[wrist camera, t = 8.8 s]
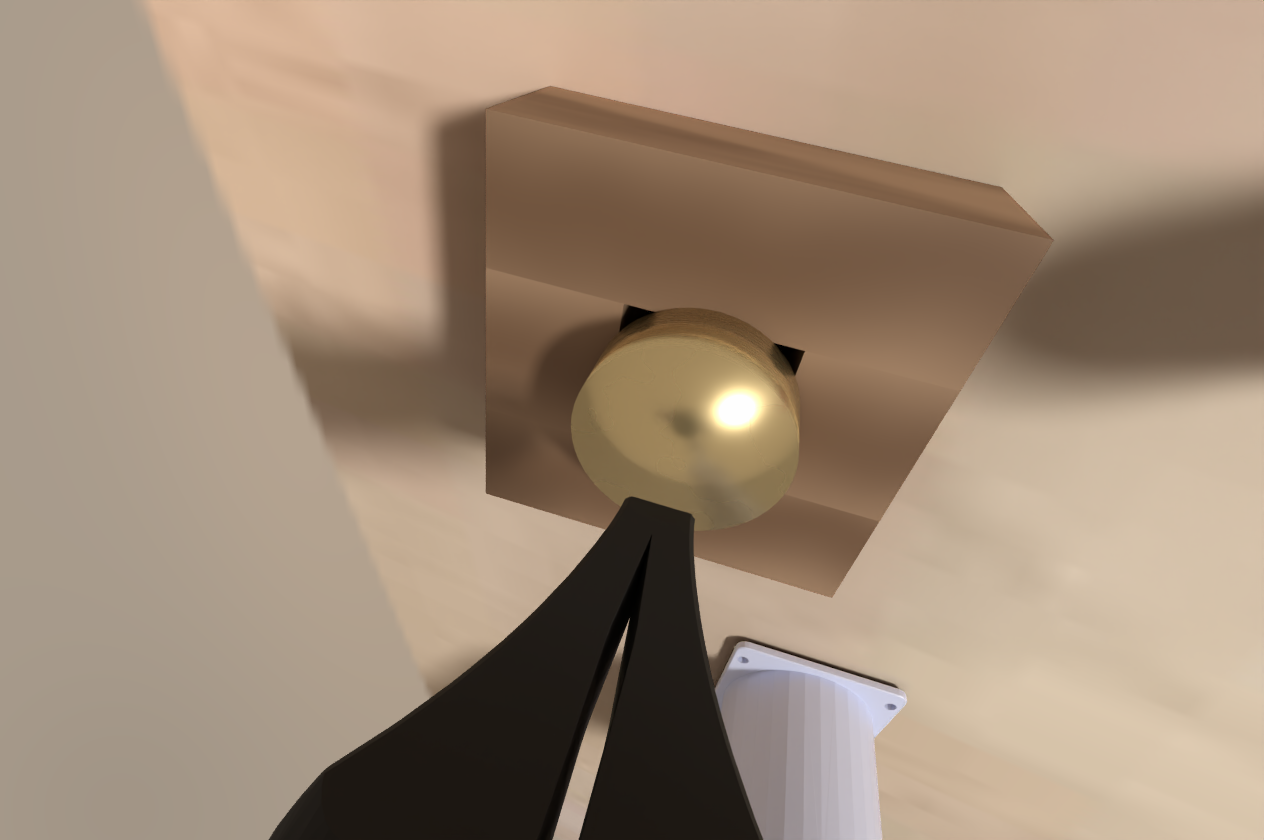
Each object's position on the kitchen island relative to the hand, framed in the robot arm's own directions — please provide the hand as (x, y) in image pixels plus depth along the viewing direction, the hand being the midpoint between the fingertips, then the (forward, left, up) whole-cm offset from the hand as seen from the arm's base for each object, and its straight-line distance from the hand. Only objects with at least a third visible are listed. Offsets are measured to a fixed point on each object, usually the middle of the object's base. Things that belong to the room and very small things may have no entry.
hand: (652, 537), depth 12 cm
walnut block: (0, 0, -9) cm, 9 cm away
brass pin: (0, 0, -9) cm, 9 cm away
